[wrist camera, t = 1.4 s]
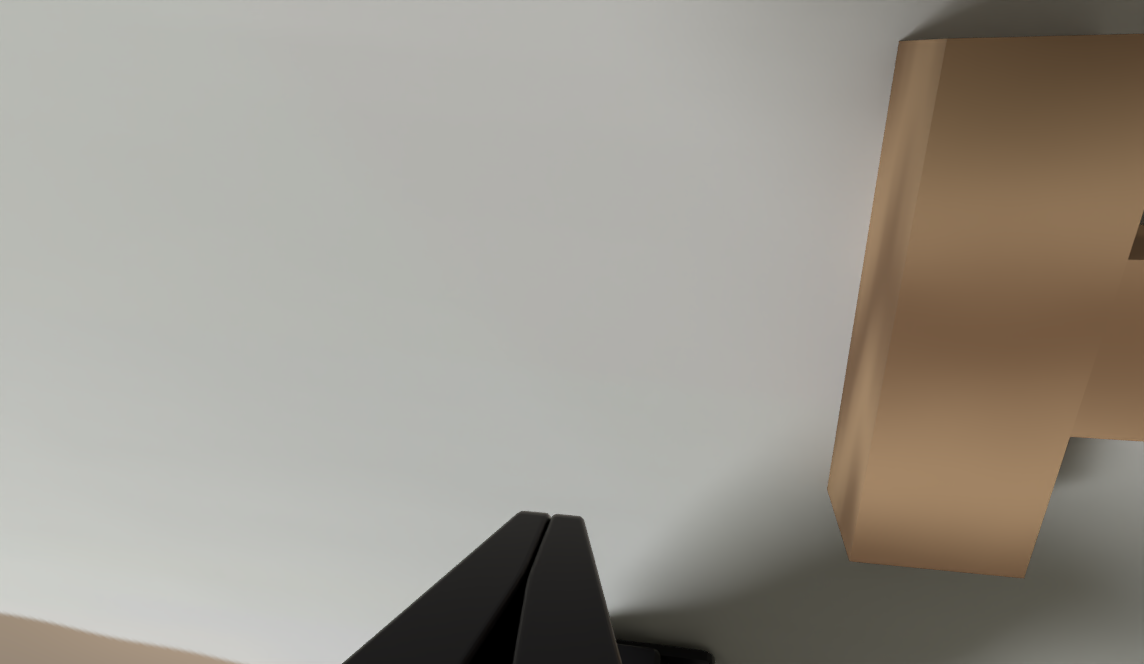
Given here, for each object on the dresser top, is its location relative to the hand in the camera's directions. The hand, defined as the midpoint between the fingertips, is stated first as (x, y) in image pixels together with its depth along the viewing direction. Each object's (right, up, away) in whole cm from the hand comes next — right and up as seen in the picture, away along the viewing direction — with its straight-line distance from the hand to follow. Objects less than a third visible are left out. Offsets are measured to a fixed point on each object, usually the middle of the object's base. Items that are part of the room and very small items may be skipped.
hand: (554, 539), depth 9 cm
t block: (+14, +3, +7) cm, 16 cm away
